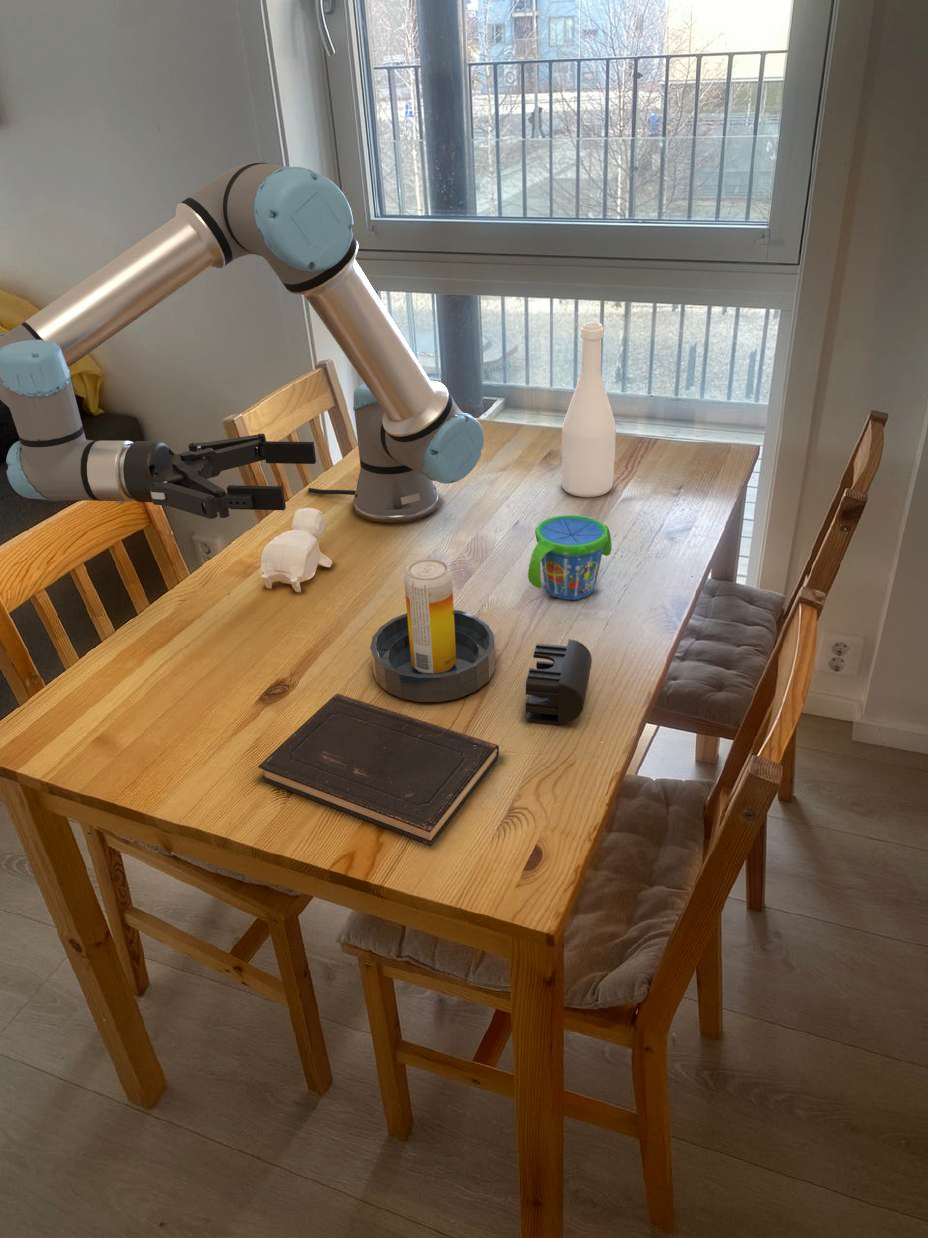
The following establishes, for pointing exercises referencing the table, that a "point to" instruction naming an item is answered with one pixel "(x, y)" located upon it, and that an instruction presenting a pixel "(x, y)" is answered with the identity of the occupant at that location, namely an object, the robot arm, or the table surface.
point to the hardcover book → (381, 766)
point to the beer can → (430, 616)
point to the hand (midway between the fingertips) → (300, 474)
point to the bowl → (410, 684)
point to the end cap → (558, 683)
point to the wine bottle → (589, 426)
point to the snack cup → (569, 555)
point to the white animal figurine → (295, 551)
